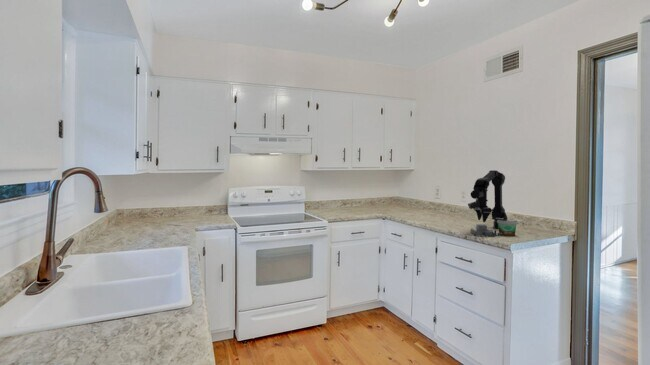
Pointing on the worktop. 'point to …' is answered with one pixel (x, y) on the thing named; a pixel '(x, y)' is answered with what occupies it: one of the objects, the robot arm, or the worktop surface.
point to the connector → (481, 227)
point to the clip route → (491, 235)
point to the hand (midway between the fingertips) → (481, 221)
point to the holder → (482, 232)
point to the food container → (507, 227)
